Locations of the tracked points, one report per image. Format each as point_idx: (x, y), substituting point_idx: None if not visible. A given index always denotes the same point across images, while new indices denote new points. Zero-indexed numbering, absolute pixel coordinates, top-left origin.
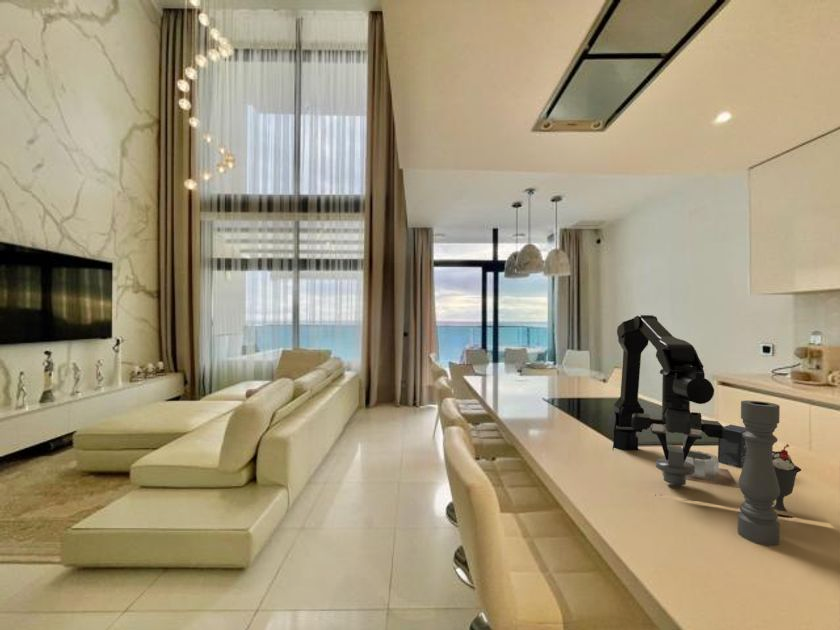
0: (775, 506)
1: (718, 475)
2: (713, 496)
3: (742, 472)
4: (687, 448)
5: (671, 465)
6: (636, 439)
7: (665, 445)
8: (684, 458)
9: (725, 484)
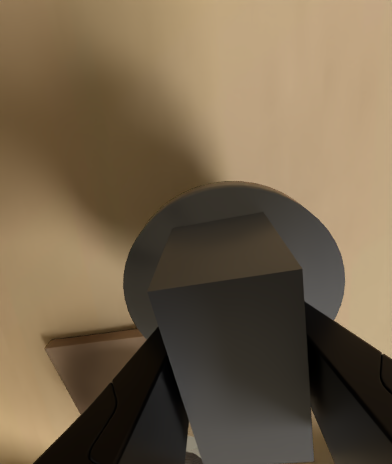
0: None
1: None
2: (99, 247)
3: None
4: (120, 393)
5: (247, 217)
6: None
7: (356, 374)
8: None
9: (83, 353)
